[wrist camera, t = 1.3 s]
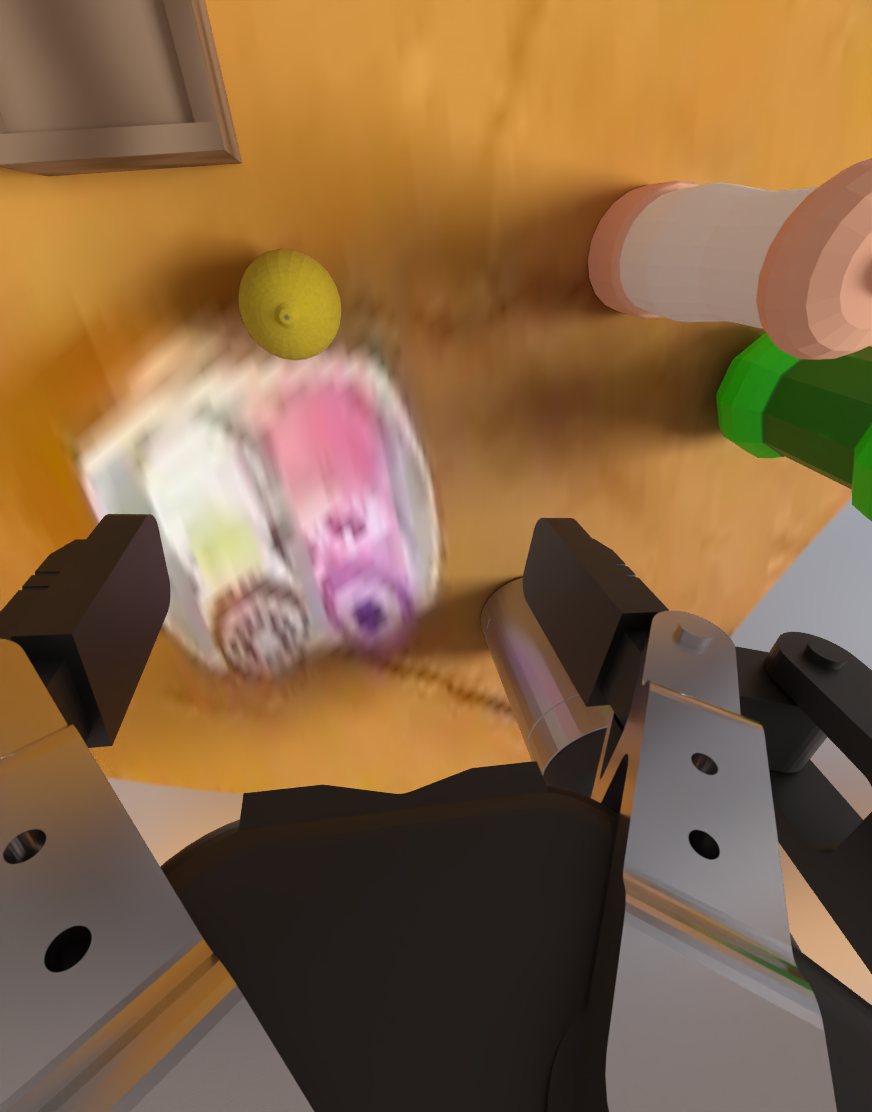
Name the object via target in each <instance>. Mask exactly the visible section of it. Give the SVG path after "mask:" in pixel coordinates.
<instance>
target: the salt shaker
mask: <svg viewBox="0 0 872 1112" xmlns="http://www.w3.org/2000/svg"><path fill="white" fill-rule="evenodd" d="M588 268H589V279H590V282H591V284H592V287H593V290H594V292H595V294H596V295H597V297H598V298H599V299H600V300H601V301H602V302H603V303H604V305H606V306H608V307H610V308H612V309H614V310H616V311H618V312H622V313H626V314H629V315H633V316H636V317H640V318H653V319H658V318H661V317H664V318H667V319H670V320H674V321H679V322H712V321H729V322H733V323H738V324H743V325H747V326H752V327H757V328H762V329H764V330H765V331H766V333H767V334H768V336H769V337H770V339H771V340H772V342H773V343H774V344H775V345H776V346H777V347H778V348H779V349H780V350H781V351H783V352H785V353H787V354H789V355H791V356H793V357H795V358H797V359H814V360H822V359H835V358H838V357H841V356H844V355H847V354H851V353H854V352H857V351H859V350H862V349H864V348H866V347H868V346H870V345H872V158H871V159H868V160H865V161H862V162H859V163H856V164H854V165H852V166H850V167H849V168H847V169H845V170H843V171H841V172H840V173H838V174H837V175H836V176H834V177H833V178H831V179H830V180H828V181H827V182H825V183H824V184H822V185H821V186H820V187H816V188H804V189H791V190H778V191H770V190H764V189H759V188H753V187H748V186H743V185H737V184H729V183H719V182H716V183H710V184H705V185H698V184H696V183H695V182H685V181H672V182H665V183H658V184H651V185H646V186H643V187H640V188H636V189H633V190H630V191H629V192H627V193H626V194H625V195H623V196H622V197H621V198H619V199H618V200H617V201H615V202H614V203H613V204H612V205H611V207H610V208H609V209H608V211H607V212H606V213H605V214H604V216H603V217H602V218H601V220H600V222H599V224H598V226H597V229H596V231H595V233H594V235H593V237H592V240H591V246H590V251H589V256H588Z"/></svg>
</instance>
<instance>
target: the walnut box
mask: <svg viewBox="0 0 872 1112" xmlns="http://www.w3.org/2000/svg"><path fill="white" fill-rule="evenodd" d="M236 163H242V161H241V156H240V152H239V148H238V143H237V139H236V134H235V130H234V126H233V121H232V117H231V112H230V108H229V104H228V99H227V95H226V90H225V86H224V82H223V77H222V73H221V69H220V64H219V60H218V55H217V51H216V47H215V42H214V38H213V33H212V29H211V25H210V20H209V16H208V11H207V7H206V3H205V0H0V167H4V168H9V169H14V170H20V171H25V172H30V173H35V174H40V175H45V176H59V175H73V174H88V173H103V172H118V171H133V170H147V169H162V168H177V167H192V166H206V165H221V164H236Z"/></svg>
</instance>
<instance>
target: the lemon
mask: <svg viewBox="0 0 872 1112" xmlns="http://www.w3.org/2000/svg"><path fill="white" fill-rule="evenodd" d="M238 298H239V310H240V313H241V316H242V320H243V323H244V325H245V327H246V328H247V330H248V332H249V333H250V335H251V336H252V338H253V339H254V340H255V341H256V342H257V343H258V344H259V345H260V346H261V347H262V348H264V349H265V350H266V351H268V352H269V353H271V354H273V355H276V356H278V357H280V358H283V359H290V360H302V359H308V358H311V357H313V356H316V355H318V354H319V353H321V352H322V351H323V350H325V349H326V348H327V347H328V346H329V345H330V343H331V342H332V341H333V339H334V338H335V336H336V333H337V331H338V328H339V326H340V319H341V302H340V297H339V294H338V291H337V288H336V285H335V283H334V281H333V280H332V278H331V276H330V275H329V273H328V272H327V271H326V270H325V269H324V267H323V266H322V265H321V264H320V263H319V262H317V261H316V260H314V259H313V258H311V257H310V256H308V255H307V254H304V253H301V252H298V251H296V250H289V249H277V250H273V251H268V252H266V253H264V254H262V255H261V256H259V257H257V258H256V259H255V260H254V261H253V262H252V263H251V264H250V265H249V266H248V268H247V269H246V271H245V273H244V275H243V277H242V279H241V282H240V288H239V294H238Z"/></svg>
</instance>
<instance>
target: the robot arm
mask: <svg viewBox="0 0 872 1112" xmlns="http://www.w3.org/2000/svg"><path fill="white" fill-rule="evenodd" d="M169 604H170V582H169V576H168V572H167V567H166V562H165V557H164V552H163V548H162V543H161V538H160V533H159V529H158V525H157V522H156V519H155V518H154V516H153V515H151V514H107V515H105V516H104V518H103V519H102V520H101V521H100V523H99V524H98V525H97V526H96V528H95V529H94V530H93V532H92V533H91V534H90V535H89V537H88V538H87V539H86V540H74V541H72V542H71V543H69V544H67V545H65V546H64V547H62V548H60V549H58V550H57V551H55V552H53V553H52V554H50V555H49V556H48V557H47V558H46V560H45V561H44V562H43V563H42V564H41V565H40V567H39V568H38V569H37V570H36V571H35V575H32V576H31V577H30V578H29V579H28V580H27V582H26V583H25V584H24V585H23V586H22V590H19V591H18V592H17V593H16V594H15V595H14V597H13V598H12V599H11V600H10V601H9V602H8V604H7V605H6V606H5V607H4V608H3V609H2V611H1V612H0V1112H872V1005H870V1004H869V1003H868V1002H866V1001H865V1000H864V999H863V998H861V997H860V996H858V995H857V994H856V993H855V992H853V991H852V990H851V989H849V988H848V987H847V986H845V985H844V984H843V983H841V982H840V981H839V980H838V979H836V978H835V977H834V976H832V975H831V974H830V973H828V972H827V971H826V970H824V969H823V968H822V967H820V966H819V965H818V964H816V963H815V962H814V961H812V960H811V959H810V958H808V957H807V956H806V955H805V954H803V953H802V952H801V950H800V949H799V946H798V945H797V943H796V942H795V940H794V938H793V937H792V935H791V933H790V931H789V923H788V916H787V907H786V899H785V891H784V884H783V876H782V868H781V860H780V852H779V844H778V842H779V843H780V845H781V846H782V847H783V849H784V850H785V852H786V853H787V854H788V856H789V857H790V859H791V860H792V862H793V863H794V865H795V866H796V867H797V869H798V870H799V872H800V873H801V874H802V876H803V877H804V879H805V880H806V882H807V883H808V884H809V886H810V887H811V889H812V890H813V891H814V893H815V894H816V896H817V897H818V899H819V900H820V901H821V903H822V904H823V906H824V907H825V908H826V910H827V911H828V913H829V914H830V916H831V917H832V918H833V920H834V921H835V923H836V924H837V925H838V927H839V928H840V930H841V931H842V933H843V934H844V935H845V937H846V938H847V940H848V941H849V942H850V944H851V945H852V947H853V948H854V949H855V951H856V952H857V954H858V955H859V957H860V958H861V959H862V961H863V962H864V964H865V965H866V967H867V968H868V969H869V971H870V972H871V974H872V812H871V813H870V814H869V815H868V816H867V817H866V818H865V819H864V820H863V819H862V818H861V817H860V816H859V815H858V814H857V813H856V812H855V810H854V809H853V808H852V807H851V806H850V804H849V803H847V801H846V800H845V799H844V798H843V797H842V795H841V794H840V793H839V792H838V791H837V790H836V789H835V788H834V786H833V785H832V784H831V783H830V782H829V781H828V779H827V778H826V777H825V776H824V775H823V774H822V773H821V772H820V771H819V769H818V768H817V767H816V766H815V765H814V764H813V762H812V761H811V760H810V758H811V757H812V755H813V754H814V753H815V752H816V751H817V749H818V748H819V747H820V746H821V744H822V743H823V742H824V740H825V739H826V738H827V737H828V738H829V739H830V740H831V741H832V742H833V743H834V744H835V745H836V746H837V747H838V748H839V749H840V750H841V751H842V752H843V753H844V754H845V755H846V756H847V757H848V759H850V761H851V762H852V763H853V764H854V765H855V766H856V767H857V768H858V769H859V770H860V771H861V772H862V773H863V774H864V775H865V776H866V778H867V779H868V781H869V782H870V784H871V786H872V670H871V669H869V668H868V667H867V666H866V665H865V664H863V663H862V662H861V661H860V660H858V659H857V658H856V657H855V656H853V655H852V654H851V653H849V652H848V651H846V650H845V649H843V648H841V647H840V646H837V645H836V644H834V643H832V642H830V641H828V640H825V639H823V638H820V637H817V636H814V635H810V634H806V633H801V632H787V633H784V634H782V635H780V637H779V638H778V639H777V641H776V643H775V644H774V646H773V647H772V649H771V651H770V652H769V653H768V652H763V651H758V650H752V649H746V648H741V647H735V645H734V643H733V641H732V640H731V638H730V637H729V636H728V635H727V634H726V633H725V632H724V631H723V630H722V629H720V628H719V627H718V626H716V625H715V624H713V623H711V622H710V621H708V620H706V619H704V618H702V617H699V616H696V615H694V614H690V613H687V612H682V611H669V610H668V609H667V608H666V606H665V605H664V604H663V603H662V602H661V601H660V600H659V599H658V598H657V597H656V596H655V595H654V594H653V593H652V592H651V591H650V589H649V588H648V587H647V586H646V585H645V584H644V583H643V582H642V581H641V580H640V579H639V578H636V577H635V574H634V572H633V571H632V570H631V569H630V568H629V567H628V566H625V563H624V562H623V561H622V560H621V559H620V558H619V557H618V555H617V554H616V553H615V552H614V551H613V550H611V549H610V548H608V547H606V546H605V545H603V544H601V543H600V542H598V541H596V540H595V539H592V538H591V537H590V536H589V535H588V533H587V532H586V531H585V530H584V529H583V528H582V527H581V526H580V525H579V524H578V522H577V521H576V520H574V519H573V518H541V519H539V520H538V522H537V523H536V525H535V528H534V532H533V537H532V541H531V545H530V549H529V553H528V557H527V561H526V566H525V570H524V574H523V578H519V579H517V580H514V581H511V582H509V583H508V584H506V585H504V586H502V587H501V588H500V589H498V590H497V591H496V592H495V593H494V594H493V595H492V596H491V597H490V598H489V599H488V601H487V602H486V604H485V606H484V607H483V610H482V613H481V621H480V623H481V628H482V631H483V634H484V637H485V640H486V643H487V646H488V648H489V650H490V652H491V655H492V658H493V660H494V663H495V666H496V668H497V671H498V674H499V676H500V679H501V681H502V684H503V687H504V689H505V692H506V694H507V697H508V700H509V702H510V705H511V708H512V710H513V713H514V715H515V718H516V721H517V723H518V726H519V728H520V731H521V734H522V736H523V739H524V741H525V744H526V747H527V749H528V752H529V755H530V757H531V760H532V762H524V763H515V764H506V765H497V766H488V767H479V768H471V769H469V770H466V771H463V772H461V773H458V774H456V775H453V776H450V777H448V778H445V779H443V780H440V781H437V782H435V783H432V784H430V785H427V786H424V787H422V788H419V789H417V790H414V791H411V792H408V793H404V794H392V793H384V792H376V791H369V790H361V789H353V788H345V787H337V786H329V785H316V786H307V787H298V788H288V789H279V790H270V791H261V792H252V793H244V795H243V803H242V810H241V817H240V820H237V821H235V822H232V823H230V824H227V825H225V826H223V827H221V828H218V829H216V830H214V831H213V832H210V833H208V834H206V835H205V836H203V837H201V838H200V839H198V840H196V841H195V842H193V843H191V844H190V845H188V846H187V847H185V848H184V849H183V850H181V851H180V852H179V853H177V854H176V855H175V856H173V857H172V858H170V859H169V860H168V861H166V862H165V863H164V864H163V865H162V866H161V867H160V866H159V865H158V863H157V861H156V859H155V858H154V856H153V855H152V853H151V851H150V850H149V848H148V846H147V845H146V843H145V841H144V840H143V838H142V837H141V835H140V833H139V831H138V830H137V828H136V827H135V825H134V823H133V822H132V820H131V818H130V816H129V815H128V813H127V812H126V810H125V808H124V806H123V805H122V803H121V802H120V800H119V798H118V797H117V795H116V793H115V792H114V790H113V788H112V787H111V785H110V783H109V782H108V780H107V778H106V777H105V775H104V773H103V772H102V770H101V768H100V767H99V765H98V763H97V762H96V760H95V758H94V757H93V755H92V753H91V752H90V750H89V748H93V747H104V746H112V745H113V743H114V740H115V738H116V735H117V733H118V731H119V728H120V726H121V723H122V721H123V719H124V716H125V714H126V711H127V709H128V706H129V704H130V702H131V699H132V697H133V694H134V692H135V690H136V687H137V685H138V682H139V680H140V677H141V675H142V673H143V670H144V668H145V665H146V663H147V661H148V658H149V656H150V653H151V651H152V648H153V646H154V644H155V641H156V639H157V636H158V634H159V632H160V629H161V627H162V624H163V622H164V619H165V617H166V615H167V612H168V609H169Z"/></svg>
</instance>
